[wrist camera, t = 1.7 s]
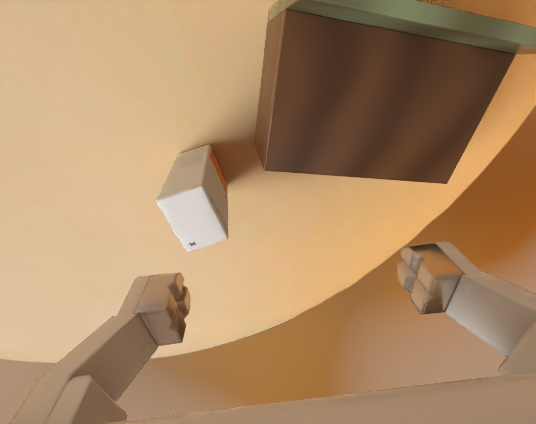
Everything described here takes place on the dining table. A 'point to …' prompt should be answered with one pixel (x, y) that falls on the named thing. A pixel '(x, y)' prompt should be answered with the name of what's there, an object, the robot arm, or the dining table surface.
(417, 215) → the dining table surface
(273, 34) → the shelf
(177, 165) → the cosmetic box
